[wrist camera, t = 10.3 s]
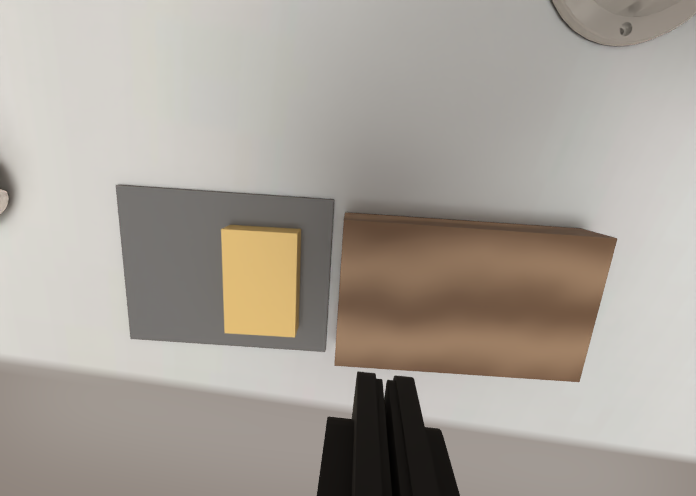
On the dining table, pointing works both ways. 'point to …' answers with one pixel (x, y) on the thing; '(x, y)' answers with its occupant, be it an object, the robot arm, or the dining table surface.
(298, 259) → the yellow rectangular block
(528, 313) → the brown wooden block
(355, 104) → the dining table surface
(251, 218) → the mat
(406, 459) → the robot arm
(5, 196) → the water bottle
